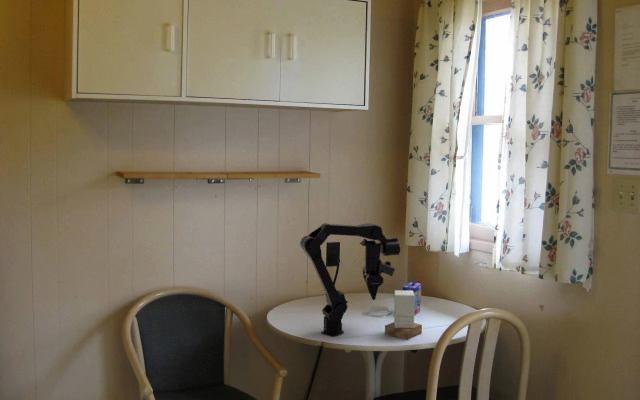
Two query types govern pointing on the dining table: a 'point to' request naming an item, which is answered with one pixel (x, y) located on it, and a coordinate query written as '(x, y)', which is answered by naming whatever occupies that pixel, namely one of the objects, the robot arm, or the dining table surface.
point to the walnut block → (403, 331)
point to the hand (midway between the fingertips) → (372, 296)
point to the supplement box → (404, 309)
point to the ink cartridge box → (417, 294)
